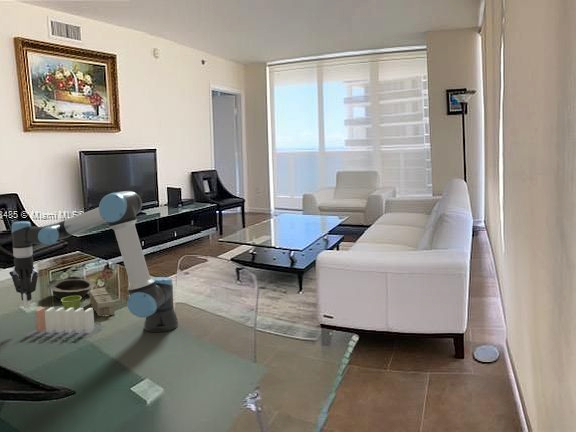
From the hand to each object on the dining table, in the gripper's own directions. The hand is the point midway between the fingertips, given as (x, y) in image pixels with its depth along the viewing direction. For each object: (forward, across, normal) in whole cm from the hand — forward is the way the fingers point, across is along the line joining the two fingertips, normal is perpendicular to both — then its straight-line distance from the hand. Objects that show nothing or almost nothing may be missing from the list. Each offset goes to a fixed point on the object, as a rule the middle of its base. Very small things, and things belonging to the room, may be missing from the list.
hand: (27, 307), depth 213 cm
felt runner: (+11, -17, 0) cm, 21 cm away
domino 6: (+11, -29, 0) cm, 30 cm away
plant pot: (+11, -9, -22) cm, 26 cm away
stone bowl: (+12, +7, -53) cm, 55 cm away
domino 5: (+11, -24, 0) cm, 26 cm away
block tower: (+12, -20, -31) cm, 39 cm away
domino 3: (+11, -15, 0) cm, 18 cm away
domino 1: (+11, -6, 0) cm, 12 cm away
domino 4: (+11, -20, 0) cm, 22 cm away
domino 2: (+11, -11, 0) cm, 15 cm away
